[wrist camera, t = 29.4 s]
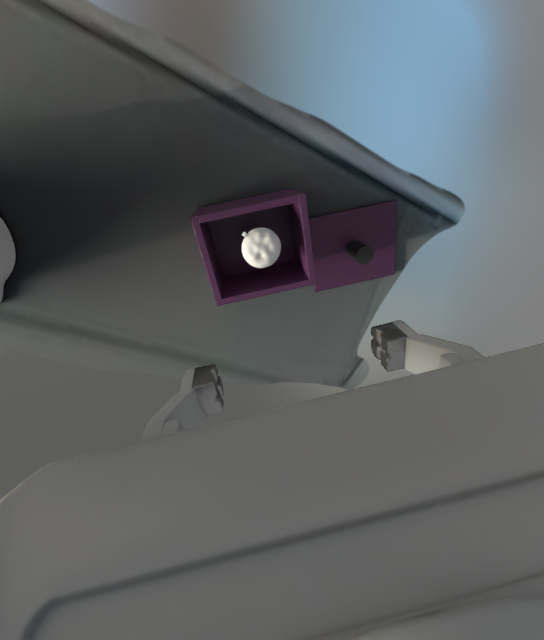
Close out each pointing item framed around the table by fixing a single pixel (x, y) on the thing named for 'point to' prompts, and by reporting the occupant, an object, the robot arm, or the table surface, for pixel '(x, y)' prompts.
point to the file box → (226, 252)
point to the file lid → (354, 245)
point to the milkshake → (260, 246)
